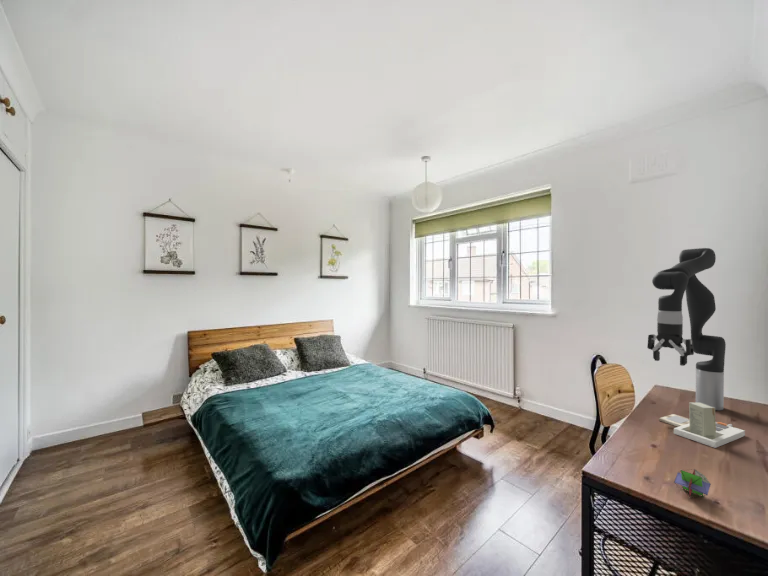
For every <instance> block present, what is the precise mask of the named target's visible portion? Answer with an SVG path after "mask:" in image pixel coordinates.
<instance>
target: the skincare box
mask: <svg viewBox="0 0 768 576" xmlns="http://www.w3.org/2000/svg"><path fill="white" fill-rule="evenodd" d="M688 408H689V409H688V410H689V411H688V412H689V416H688V417H689V422H690V431H689V432H691V433H694V434H697V435H700V436H703V437H706V438H709V439H715V438H716V422H717V421H716V410H715V408H714V407H711V406H708V405H706V404H703V403H700V402H696V401H695V402H688Z"/></svg>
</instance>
